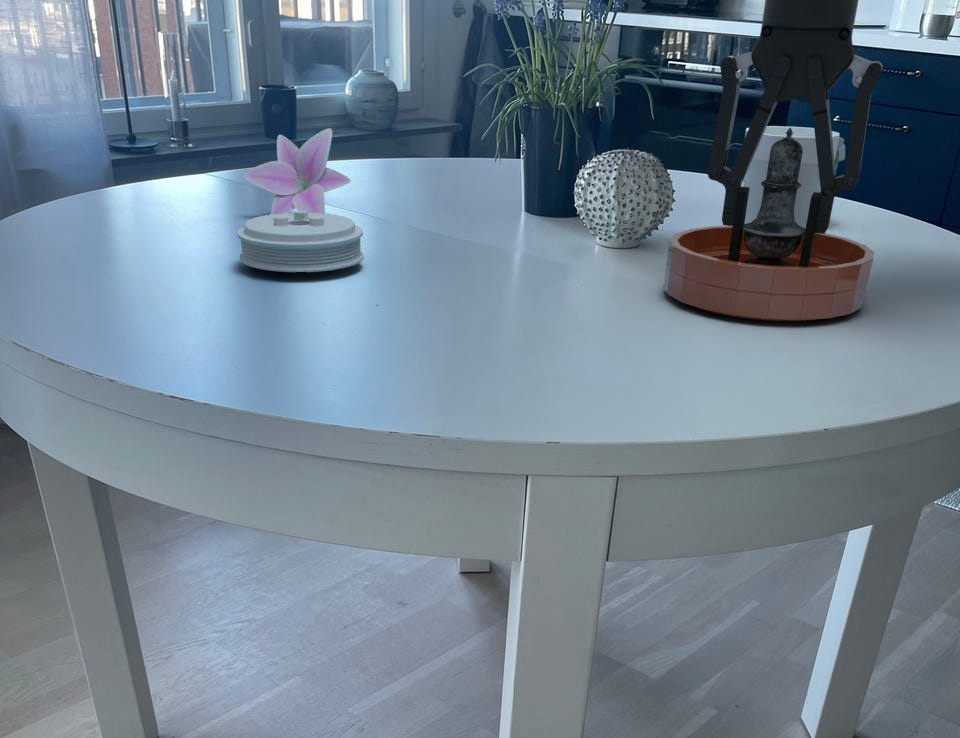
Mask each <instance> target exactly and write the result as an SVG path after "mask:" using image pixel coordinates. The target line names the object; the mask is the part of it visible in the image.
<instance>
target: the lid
mask: <svg viewBox="0 0 960 738" xmlns="http://www.w3.org/2000/svg"><path fill="white" fill-rule="evenodd" d="M236 234H237V235H236V236H237V238H238V239H240V245H241V253H240V255H239V261H240V262H241V263H242V264H244V265H245V266H248V267H251V268H255V269H257V270H258V269H259V270H264V271H269V272H271V271H272V272H284V273H296V272H307V273H315V272H326V271H335V270H340V269H341V270H342V269H344V268H348V267H353V266H355V265H358V264H359V263H361V262H363V260H364V259H365V254H364V252H363V251H362V248H361V247H362V245H361V238H362V237H363V235H364V231H363V228H361V226H359V225H356V223H355V221H354V220H353V219H351V218H348V217H345V216H342V215H337V214H332V213H331V214H330V213H325V214H322V213H308V212H307V211H298V210H296V211H293V212H289V213H282V214H272V215H271V214H266V215H261V216H255V217H253V218H250V219H248V220H246V221H245V222H244V224H243V226H242V227H240V228H239V229H237V231H236Z"/></svg>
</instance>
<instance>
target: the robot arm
mask: <svg viewBox="0 0 960 738" xmlns="http://www.w3.org/2000/svg"><path fill="white" fill-rule="evenodd" d="M858 5H859V0H765V1H764V6H763V7H764V8H763V12H762V13H763V15H762V20H761V29H760V33H759V36H758V39H757V41H756V43H755V44H754V45H753V47H752V50H751V51H748V52H745V53H741V54H738V55H728V56H725V57H724V58H722V60H721V61H720V64H719V68H720V75H721V83H722V92H721V97H720V101H719V102H720V103H719V107H718V108H719V109H718V113H717V118H716V125H715V130H714V136H713V141H712V146H711V153H710V156H709V157H710V158H709V163H708V164H709V165H708V168H707V177H708V178H709V180H711V181H715V182H717V183H720V184H721V185H722V186H723V187H724V190H725V193H724V201H723V208H722V215H721V222H722V226H733V227H732V234H731V241H730V248H729V255H728V260H729V261H734V262H738V261H739V256H740V250H741V243H742V236H743V230H742V226H743V225H744V223H745V216H746V210H747V203H748V196H749V190H750V187H743V179H744V177H745V174H746V172H747V170H748V168H749V165H750V163H751V161H752V158H753V156H754V154H755V152H756V149H757V147H758V145H759V143H760V140H761V138H762V136H763V133H764V131H765V129H766V127H767V126H768V124H769V122H770V120H771V117H772V115H773V113H774V111H775V109H776V107H777V105H778V102H788V101H792V100H796V101H798V102H801V103H807V104H808V103H810V106H811V114H812V120H813V128H814V131H815V140H816V150H817V159H818V169H819V178H820V188H821V192H813V194H812V196H811V201H810V206H809V212H808V218H807V223H806V229H805V234H804V240H803V245H802V251H801V256H800V262H799V267H808V266H809V261H810V256H811V250H812V245H813V240H814V234H815V233H822V234H825V233H826V232H827V231H828V229H829V225H830V221H831V218H832V217H831V216H832V211H833V206H834V201H835V197H836V196H837V195H838V194H840V193H843V192H846V191H852V190H853V191H854V189H855V188H856V187H857V186H858V183H859V180H860V174H861V167H862V161H863V154H864V149H865V142H866V141H865V140H866V133H867V126H868V122H869V121H868V120H869V115H870V114H869V113H870V107H871V99H872V93H873V91H874V89H875V87H876V84H877V82H878V80H879V78H880V76H881V74H882V72H883V63H881V61H879V60H876V61H871V60H869V59H867V58H863V57H861V56H859V55H856V53H855V47H854V44H853V33H854V32H853V31H854V27H855V23H856V15H857V11H858ZM751 66H754V68H755V70H756V72H757V74H758V76H759V79H760V80H761V83H762V85H763V87H764V89H765V90H764V92H763V93H762V96H761V98H760V100H759V103H758V106H757V109H756V111H755V113H754V116H753V118H752V120H751V122H750V125H749V127H748V128H749V130H748V132H747V134H746V137H745V136H744V139H743V142H742V144H741V146H740V148H739V151H738V153H737V155H736V158H735V160H734V162H733V165H732V168H730V167H728V166H727V161H728V155H729V151H730V144H731V140H732V134H733V129H734V123H735V118H736V113H737V109H738V104H739V103H738V102H739V98H740V91H741V82H744V81H746V79H747V77H748V73H749V69H750V67H751ZM849 69H850V70H851V72H852V79H851V83H852V85H853V87H855V88H857V90H856V93H855V97H854V104H853V111H852V119H851V125H850V133H849V139H848V146H847V154H846V160H845V161H846V162H845V167H844V168H845V169H844V174H841V175H838V176H837V171H836V172H835V161H834V151H833V141H832V122H831V111H830V99H829V98H830V97H829V90H831V88H832V87H833V86H834V85H835V84H836V83H837V82H838V80H839V79H840V78H841V77H842V76H843V75H844V73H845V72H846V71H847V70H849Z"/></svg>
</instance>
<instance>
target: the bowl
mask: <svg viewBox="0 0 960 738" xmlns="http://www.w3.org/2000/svg"><path fill="white" fill-rule="evenodd" d="M732 227H733V226H727V225H712V226H704V227H695V228H690V229H689V228H688V229H685V230H682V231H679V232H677V233H674V235H672V236H671V237H670V238H669V240H668V248H667V257H666V264H665V265H666V266H665V274H664V282H663V287H664V289H665V292H666V293H667V295H668V296H670V297H672V298H673V299H675V300H677V301H678V302H679V303H682V304H686V305H689V306H692V307H695V308H698V309H701V310H704V311H707V312H710V313H714V314H717V315H721V316H727V317H732V318H738V319H745V320H753V321H764V322H767V321H768V322H807V320H808V321H816V320H824V319H833V318H837V317H841V316H842V317H843V316H847V315H851V314H852V313H854V312H857V311H859V310H860V309H862V308H863V306H864V302H865V297H866V293H867V288H868V283H869V279H870V274H871V270H872V266H873V260H874V255H875V251H874V250H872V249H871V248H870V247H868V246H867V245H866V244H863V243H861V242H858V241H855V240H852V239H850V238H847V237H843V236H839V235H834V234H830V233H826V232H825V234H822V233H815V234H814V240H813V245H812V250H811V256H810V261H809V266H808V267H799V262H800V256H801V251H802V245H803V240H804V235H802V238H801V242H800V244H799V246H798V248H797V249H796V250H795V251H794V252H793V253H792V254H791V255H790V256H787V257H784V258H780V259H781V260H785V261H788V262H790V263H792V265H793V266H795V267H788V266H768V265H758V264H748V263H742V262H744V261H745V260H747V259H750V258H757V256H755V255H753V254H751V253H750V252H749V251H748V249H747V248H746V246H745V241H744V233H745V231H743V236H742V243H741V250H740V256H739V261H738V262H734V261H729V260H728V255H729V248H730V241H731V234H732Z"/></svg>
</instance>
